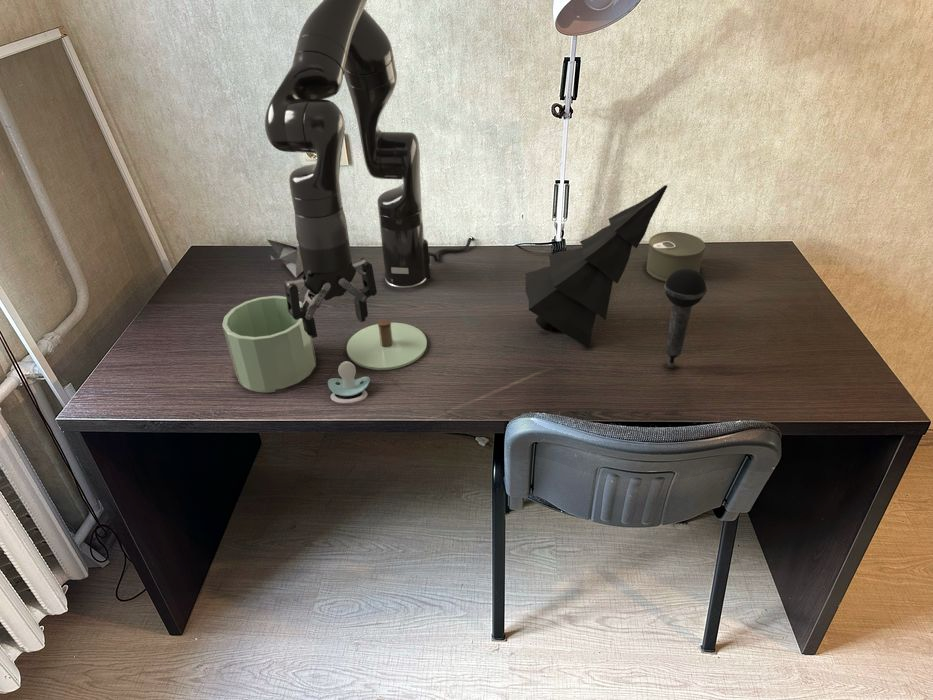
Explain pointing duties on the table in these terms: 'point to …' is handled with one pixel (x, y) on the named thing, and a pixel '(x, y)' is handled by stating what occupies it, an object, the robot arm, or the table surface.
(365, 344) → the lid
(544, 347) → the table surface
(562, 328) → the decorative tree
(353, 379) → the pacifier
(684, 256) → the can
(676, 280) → the microphone
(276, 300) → the crock
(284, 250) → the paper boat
